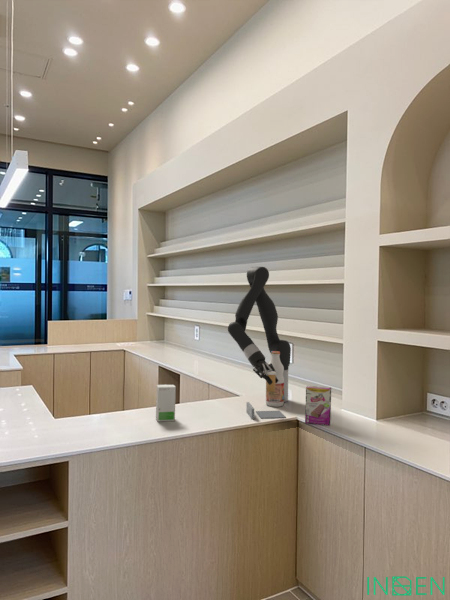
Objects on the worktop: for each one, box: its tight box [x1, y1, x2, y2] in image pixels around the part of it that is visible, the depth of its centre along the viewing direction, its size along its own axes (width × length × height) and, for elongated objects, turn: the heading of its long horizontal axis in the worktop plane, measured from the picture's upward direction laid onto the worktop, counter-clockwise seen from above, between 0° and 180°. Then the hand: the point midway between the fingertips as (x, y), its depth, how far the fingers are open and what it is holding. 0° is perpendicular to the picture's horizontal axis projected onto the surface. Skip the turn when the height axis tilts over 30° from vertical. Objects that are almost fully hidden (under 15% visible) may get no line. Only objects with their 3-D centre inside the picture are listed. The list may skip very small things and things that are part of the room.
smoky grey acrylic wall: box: [245, 401, 255, 421], centre depth 212 cm, size 13×1×5 cm, turn 8°
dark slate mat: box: [255, 410, 287, 420], centre depth 214 cm, size 12×12×1 cm
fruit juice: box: [265, 351, 285, 408], centre depth 233 cm, size 9×9×28 cm
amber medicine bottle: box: [265, 371, 276, 392], centre depth 214 cm, size 5×5×9 cm
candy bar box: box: [304, 385, 332, 426], centre depth 200 cm, size 11×5×16 cm, turn 74°
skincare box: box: [155, 384, 177, 422], centre depth 204 cm, size 8×7×16 cm
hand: (274, 382), depth 212 cm, fingers closed on amber medicine bottle, 4 cm apart
